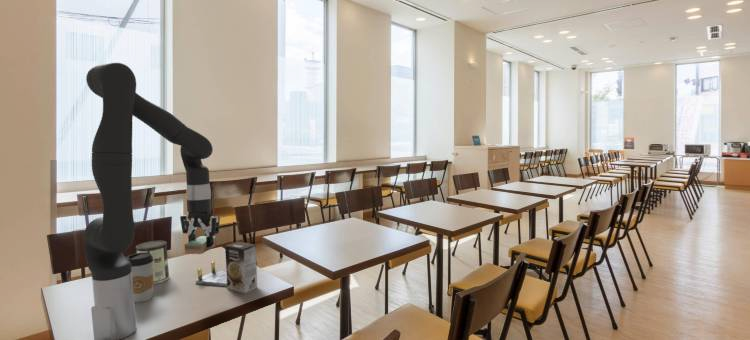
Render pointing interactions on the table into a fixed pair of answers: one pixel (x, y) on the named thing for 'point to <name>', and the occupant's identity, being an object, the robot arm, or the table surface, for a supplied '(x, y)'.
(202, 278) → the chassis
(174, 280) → the table surface
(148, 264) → the coffee cup
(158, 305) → the table surface
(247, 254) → the coffee box
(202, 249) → the mint green block
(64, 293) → the table surface
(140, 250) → the coffee can
